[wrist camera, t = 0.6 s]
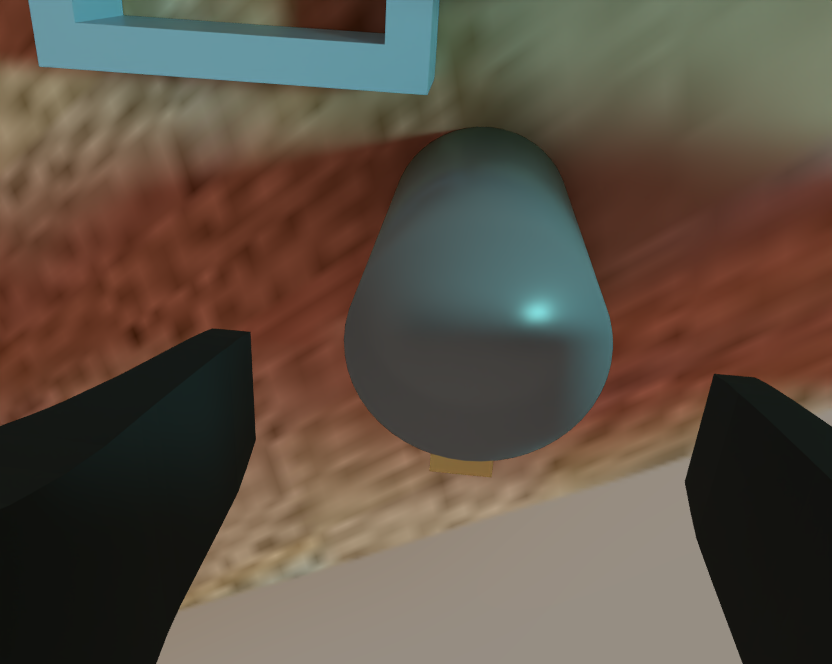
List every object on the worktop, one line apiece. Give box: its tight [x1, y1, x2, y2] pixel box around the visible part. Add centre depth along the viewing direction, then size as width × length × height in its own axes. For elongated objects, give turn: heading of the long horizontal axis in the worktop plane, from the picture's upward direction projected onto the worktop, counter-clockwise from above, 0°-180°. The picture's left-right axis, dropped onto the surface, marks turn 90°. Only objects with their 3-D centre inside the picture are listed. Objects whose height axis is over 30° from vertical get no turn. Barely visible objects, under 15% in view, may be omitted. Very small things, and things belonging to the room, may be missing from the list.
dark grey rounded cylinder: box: [344, 127, 613, 477], centre depth 17 cm, size 5×6×8 cm
